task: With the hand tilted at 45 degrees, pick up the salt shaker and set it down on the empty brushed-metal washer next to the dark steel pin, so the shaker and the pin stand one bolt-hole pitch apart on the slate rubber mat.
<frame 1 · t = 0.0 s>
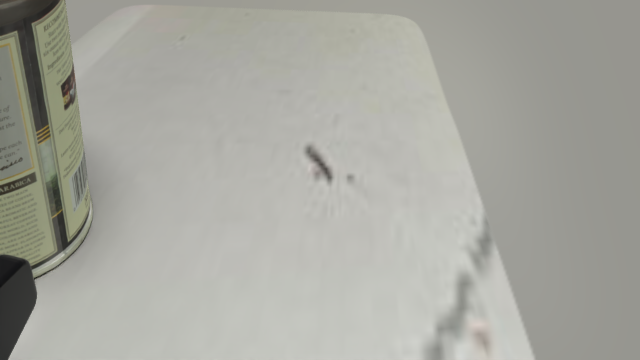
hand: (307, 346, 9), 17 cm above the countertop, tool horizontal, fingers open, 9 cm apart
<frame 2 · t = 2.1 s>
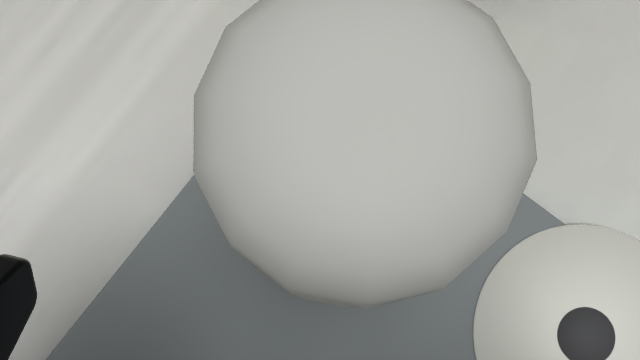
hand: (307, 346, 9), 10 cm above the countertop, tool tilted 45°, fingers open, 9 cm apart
salt shaker: (340, 209, 20), resting on mat
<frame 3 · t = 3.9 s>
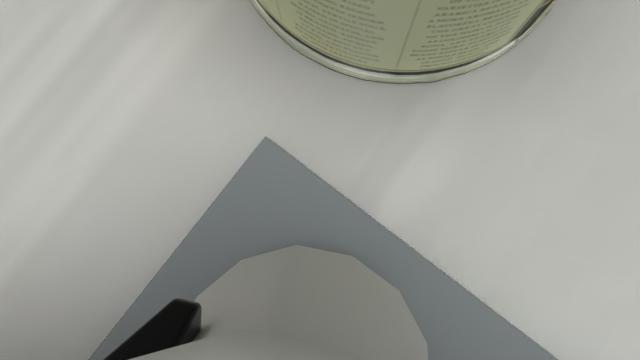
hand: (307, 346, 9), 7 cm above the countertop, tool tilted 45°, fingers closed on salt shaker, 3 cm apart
salt shaker: (305, 355, 16), resting on mat, touching gripper
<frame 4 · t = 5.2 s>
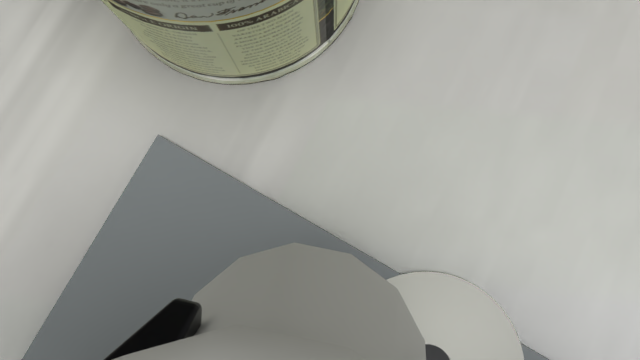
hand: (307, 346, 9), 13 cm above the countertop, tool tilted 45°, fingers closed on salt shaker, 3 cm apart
salt shaker: (303, 353, 16), point 6 cm above the countertop, touching gripper
when the fingers open (8 cm above the countertop, at t = 6.8 s): salt shaker stays where it is, resting on mat.
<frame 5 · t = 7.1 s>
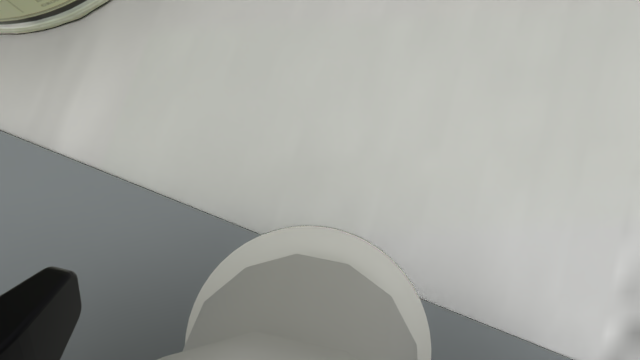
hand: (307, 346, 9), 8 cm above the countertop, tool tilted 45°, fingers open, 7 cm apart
salt shaker: (304, 356, 17), resting on mat
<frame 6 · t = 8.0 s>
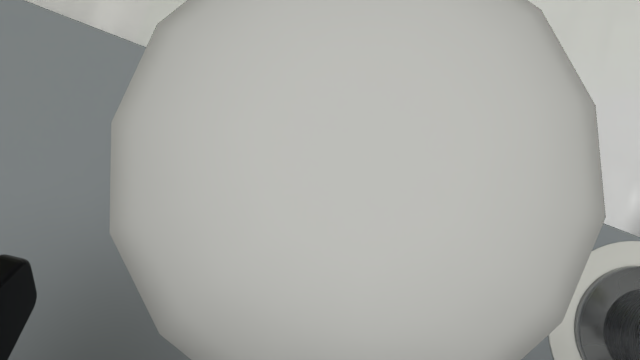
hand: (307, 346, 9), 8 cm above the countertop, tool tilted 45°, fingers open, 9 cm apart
salt shaker: (337, 220, 17), resting on mat
steel pin: (636, 329, 17), resting on mat
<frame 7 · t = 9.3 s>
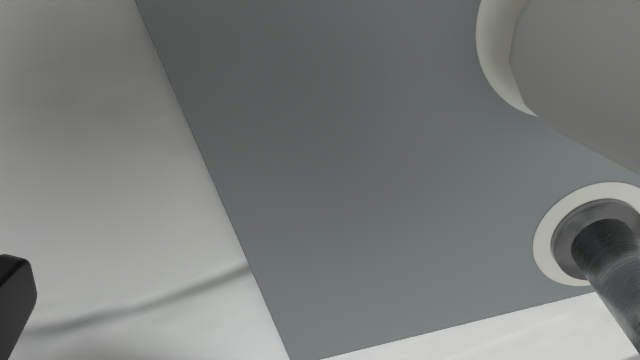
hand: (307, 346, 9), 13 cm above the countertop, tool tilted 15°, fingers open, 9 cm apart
salt shaker: (573, 20, 20), resting on mat
mat: (412, 49, 20), on the countertop
steel pin: (594, 235, 24), resting on mat
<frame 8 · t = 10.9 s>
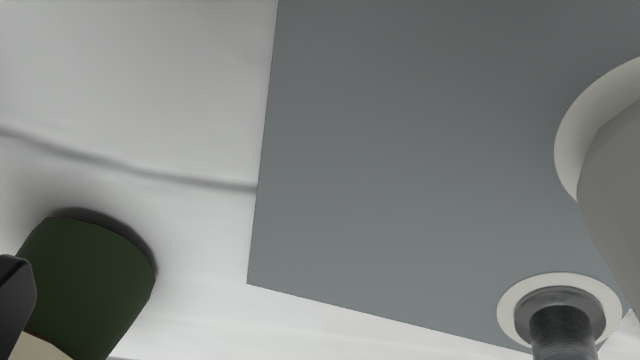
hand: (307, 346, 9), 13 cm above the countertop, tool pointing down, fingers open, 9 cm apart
mat: (507, 89, 20), on the countertop
steel pin: (557, 313, 25), resting on mat
character mug: (100, 252, 29), on the countertop
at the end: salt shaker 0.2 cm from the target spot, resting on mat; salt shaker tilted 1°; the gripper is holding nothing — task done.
